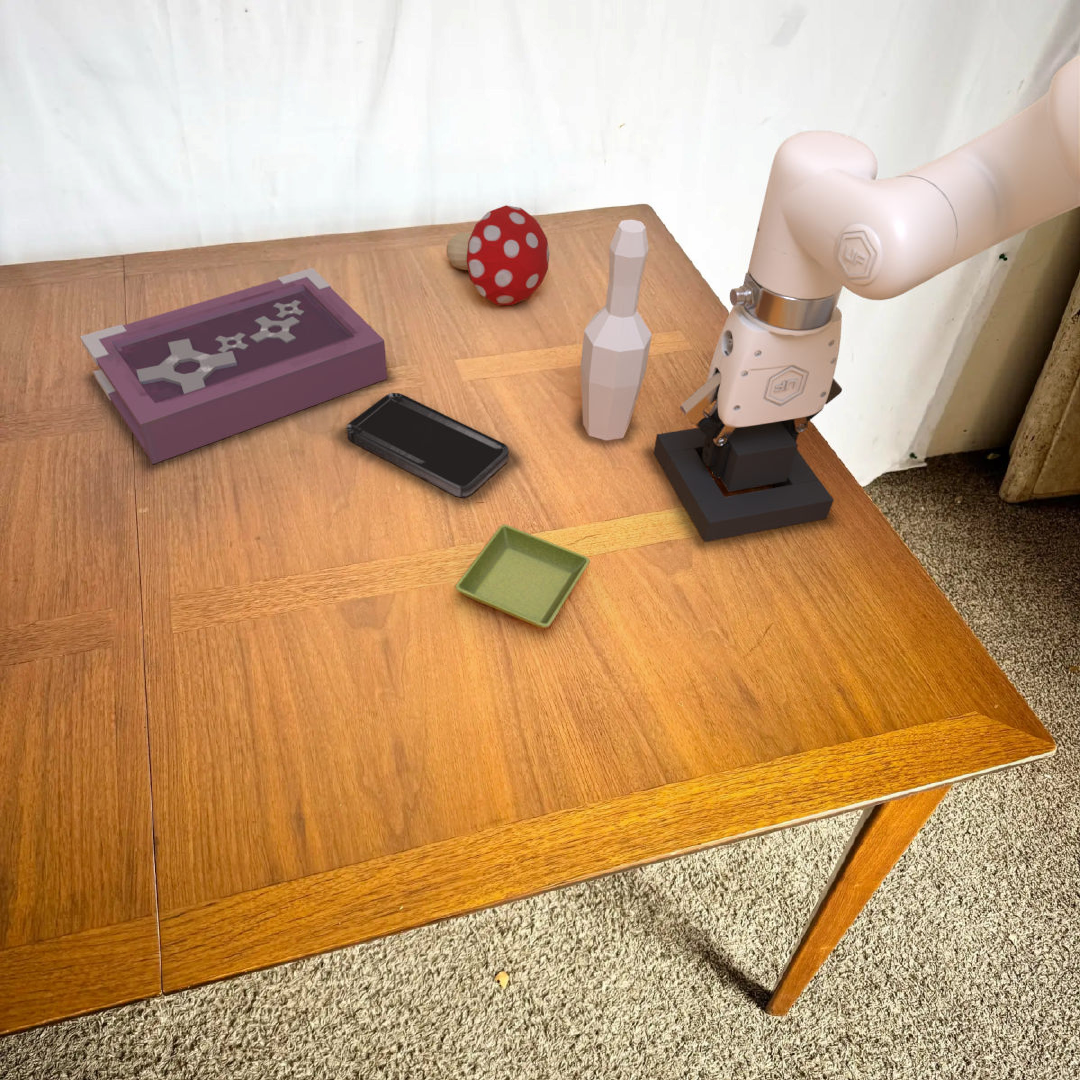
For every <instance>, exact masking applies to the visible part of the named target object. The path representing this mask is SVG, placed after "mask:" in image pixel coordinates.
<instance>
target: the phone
mask: <svg viewBox="0 0 1080 1080" xmlns="http://www.w3.org/2000/svg"><path fill="white" fill-rule="evenodd" d="M346 433H347V438H348V440H349V442H351V443H353V444H355V445H357V446H359V447H361V448H363V449H365V450H366V451H368V452H371V453H372V454H374V455H376V456H378V457H380V458H381V459H384V460H386V461H388V462H390V463H391V464H393V465H396V466H397V467H400V468H401V469H404V470H405V471H407V472H409V473H411V474H413V475H414V476H417V477H419V478H421V479H423V480H425V481H426V482H429V483H430V484H432V485H434V486H436V487H438V488H440V489H442V490H443V491H445V492H448V493H449V494H451V495H453V496H456V497H458V498H467V497H470V496H471V495H473V494H474V493H475V492H477V491H478V490H479V489H480V488H481V487H482V486H483V485H484V484H485V483H486V482H487V481H488V480H489V479H490V478H492V477H493V476H494V475H495V474H496V473H497V472H498V471H499V470H500V469H501V468H503V467H504V466H505V465H506V464H507V462H508V461H509V453H510V451H509V446H508V445H507V444H505V443H504V442H501V441H499V440H498V439H496V438H493V437H491V436H489V435H488V434H485V433H483V432H481V431H479V430H476V429H475V428H473V427H471V426H469V425H467V424H464V423H462V422H460V421H458V420H456V419H455V418H452V417H450V416H448V415H446V414H444V413H442V412H439V411H437V410H436V409H434V408H431V407H429V406H428V405H425V404H424V403H421V402H419V401H417V400H415V399H413V398H410V397H409V396H407V395H405V394H402V393H400V392H391V393H388V394H386V395H385V396H383V397H382V398H380V399H379V400H378V401H377V402H375V403H374V404H372V405H371V406H370V407H368V408H367V409H366V410H365V411H363V412H362V413H361V414H359V415H358V416H357V417H355V418H354V419H352V420H351V421H350V422H349V423H348V424H347V425H346Z"/></svg>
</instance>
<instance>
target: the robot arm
mask: <svg viewBox="0 0 1080 1080" xmlns="http://www.w3.org/2000/svg"><path fill="white" fill-rule="evenodd" d="M877 175H878V161H877V157H876V155H875V153H874V152H873V150H872V149H871V148H870V146H868V145H867V144H866V143H864V142H863V141H861V140H859V139H857V138H856V137H853V136H851V135H847V134H845V133H844V134H843V133H841V132H840V133H839V132H836V131H830V130H806V131H805V130H804V131H800V132H798V133H795V134H793V135H791V136H789V137H787V138H786V139H785V140H784V141H783V142H782V143H780V145H779V147H778V148H777V150H776V152H775V154H774V156H773V160H772V164H771V167H770V172H769V176H768V180H767V185H766V188H765V189H766V190H765V194H764V198H763V202H762V206H761V210H760V216H759V220H758V225H757V229H756V233H755V238H754V240H753V241H754V242H753V247H752V249H751V254H750V260H749V264H748V268H747V272H745V276H744V280H743V283H742V285H740V286H739V287H736V288H731V290H730V291H729V302H730V304H731V305H732V308H731V310H730V312H729V314H728V316H727V318H726V320H725V323H724V325H723V327H722V330H721V332H720V334H719V338H718V341H717V343H716V346H715V349H714V352H713V356H712V359H711V363H710V367H709V369H708V374H707V379H706V382H705V383H704V384H703V385H701V386H700V387H699V388H698V389H697V390H696V391H695V392H694V393H692V394H691V395H690V396H689V397H688V398H687V399H686V400H684V401H683V402H682V403H681V405H680V407H679V409H680V411H681V412H682V414H683V416H684V417H685V419H687V420H688V421H689V422H690V423H691V424H692V425H694V426H695V427H696V428H699V429H700V430H701V431H702V432H703V433H704V434H705V435H706V439H705V444H704V448H703V453H702V459H703V462H704V463H705V466H706V468H707V467H708V468H709V470H710V471H711V473H712V475H713V477H714V478H715V479H720V478H722V477H723V475H724V471H725V467H726V463H727V459H728V455H729V451H730V445H729V443H728V442H727V440H728V439H729V437H730V436H731V434H732V433H733V431H734V430H735V428H736V427H747V426H753V425H760V424H766V423H772V422H778V421H781V423H782V424H783V425H784V427H785V428H786V429H787V431H788V432H789V433H790V435H791V436H792V437H793V439H794V440H795V442H796V443H797V440H798V438H799V434H801V433H803V432H805V431H806V430H807V429H808V427H809V423H808V422H810V421H811V420H812V419H813V418H815V417H816V416H817V415H818V414H820V413H821V412H822V411H823V409H824V407H825V405H828V404H829V403H831V402H832V401H833V400H835V398H837V397H838V396H839V395H840V394H841V393H842V392H843V388H842V386H841V385H840V384H839V382H837V380H836V379H835V378H834V377H835V373H836V368H837V363H838V358H839V354H840V346H841V338H842V323H843V322H842V321H843V319H842V318H843V314H842V311H841V310H840V309H839V307H838V302H839V299H840V296H841V293H842V290H843V287H844V288H845V289H847V290H848V291H850V292H851V293H852V294H854V295H856V296H859V297H860V298H863V299H867V300H870V301H886V300H891V299H894V298H896V297H899V296H902V295H904V294H907V292H910V291H912V290H913V289H914V288H917V287H919V286H920V285H922V284H924V283H926V282H928V281H930V280H931V279H933V278H936V276H938V275H940V274H942V273H944V272H946V271H948V270H950V269H951V268H953V267H955V266H957V265H959V264H961V263H962V262H965V261H967V260H969V259H972V258H973V257H974V256H977V255H978V254H980V253H982V252H984V251H986V250H988V249H991V248H993V247H994V246H996V245H999V244H1001V243H1002V242H1004V241H1006V240H1008V239H1010V238H1012V237H1013V238H1014V237H1015V236H1017V235H1019V234H1021V233H1023V232H1025V231H1028V230H1030V229H1032V228H1034V227H1036V226H1038V225H1040V224H1043V223H1045V222H1047V221H1049V220H1051V219H1053V218H1055V217H1058V216H1060V215H1062V214H1064V213H1067V212H1069V211H1072V210H1074V209H1076V208H1079V207H1080V54H1078V55H1076V56H1074V57H1073V58H1071V59H1070V60H1069V61H1067V62H1066V63H1065V64H1064V65H1062V66H1061V67H1060V68H1059V69H1058V70H1057V71H1056V72H1055V73H1054V75H1053V77H1052V79H1051V81H1050V85H1049V89H1048V91H1047V92H1046V93H1044V95H1043V96H1041V97H1040V98H1039V99H1037V100H1036V101H1034V102H1033V103H1032V104H1029V106H1027V107H1025V108H1024V109H1022V110H1020V111H1019V112H1018V113H1016V114H1014V115H1012V116H1011V117H1009V118H1008V119H1006V120H1004V121H1003V122H1001V123H999V124H998V125H996V126H994V127H993V128H991V129H989V130H987V131H985V132H984V133H982V134H980V135H978V136H977V137H975V138H973V139H972V140H970V141H968V142H967V143H964V144H963V145H961V146H959V147H957V148H955V149H953V150H952V151H950V152H948V153H946V154H944V155H942V156H941V157H938V158H936V159H934V160H931V161H930V162H929V161H928V162H927V163H924V164H922V165H919V166H916V167H915V168H912V169H910V170H908V171H906V172H903V173H902V174H899V175H897V176H895V177H894V176H893V177H886V178H878V179H877ZM714 402H715V403H714ZM713 403H714V404H713ZM712 404H713V406H712V408H711V409H710V410H709V412H708V413H707V412H706V411H705V410H707V408H709V406H711V405H712ZM720 420H722V422H723V423H722V424H721V425H720V424H719V422H720Z"/></svg>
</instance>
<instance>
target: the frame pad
mask: <svg viewBox="0 0 1080 1080" xmlns="http://www.w3.org/2000/svg"><path fill="white" fill-rule="evenodd" d="M705 438H706V435H705V434H704V433H703V432H702V431H701V430H700V429H699V428H698V427H694V428H686V429H680V430H675V431H667V432H663V433H657V434H656V437H655V443H654V449H653V456H654V457H655V459H656V461H657V462H658V464H659V465H660V468H661V469H662V471H663V473H664V474H665V476H666V478H667V480H668V482H669V483H670V485H671V487H672V488H673V490H674V492H675V494H676V495H677V497H678V499H679V501H680V502H681V504H682V506H683V508H684V509H685V511H686V512H687V515H688V516H689V518H690V519H691V521H692V523H693V525H694V527H695V528H696V530H697V532H698V533H699V535H700V537H701V540H702V541H703V543H706V542H712V541H717V540H722V539H727V538H732V537H737V536H743V535H748V534H753V533H759V532H764V531H769V530H774V529H779V528H784V527H790V526H795V525H800V524H806V523H810V522H816V521H820V520H826V519H827V518H828V517H829V513H830V511H831V509H832V505H833V503H834V498H833V497H832V495H831V494H830V492H829V491H828V490H827V488H826V487H825V486H824V484H823V483H822V482H821V480H820V478H819V477H818V476H817V475H816V473H815V471H813V469H812V468H811V466H810V465H809V464H808V462H807V461H806V460H805V458H804V457H803V455H802V454H801V453H800V451H799V450H798V449H797V450H796V453H795V456H794V459H793V462H792V466H791V469H790V472H789V475H788V478H787V481H786V482H780V483H775V484H773V486H774V487H773V488H765V489H761V490H755V491H750V492H745V493H739V494H733V495H727V496H724V494H723V492H722V490H721V488H719V487H720V486H718V484H717V482H716V481H715V479H714V477H713V476H712V475H711V472H710V471H709V470H708V468H707V466H706V465H705V463H704V462H703V459H702V453H703V447H704V443H705Z"/></svg>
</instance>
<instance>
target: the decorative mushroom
mask: <svg viewBox="0 0 1080 1080" xmlns="http://www.w3.org/2000/svg"><path fill="white" fill-rule="evenodd" d="M446 255H447V259H448V261H449V263H450V264H451V265H452V266H453V267H455V268H456V269H459V270H464V271H468V275H469V279H470V281H471V283H472V284H473V285H474V287H475V289H476V291H477V293H478V294H480V295H481V296H482V297H483V298H485V299H486V300H488V301H489V302H491V303H492V304H494V305H496V306H497V305H498V306H510V307H511V306H513V305H515V304H518V303H520V302H522V301H525V300H527V299H529V298H530V297H531V296H532V295H533V294H534V293H535V292H536V291H537V290H538V288H539V287H540V286H541V285H542V283H543V281H544V280H545V277H546V274H547V272H548V270H549V262H550V248H549V243H548V238H547V236H546V234H545V232H544V230H543V228H542V226H541V224H540V223H539V221H538V220H537V219H536V218H535V217H533V215H531V214H530V213H529V212H527V211H526V210H525V209H523V208H522V207H517V206H512V205H507V204H506V205H502V206H500V207H498V208H495V209H492V210H490V211H488V212H486V213H485V214H484V215H483V216H482V217H481V218H480V220H479V221H477V223H476V224H475V225H474V228H473V229H472V232H462V231H460V232H458V233H455V234H454V235H453V236H452V237H451V238H450V239H449V241H448V243H447V245H446Z"/></svg>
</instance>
